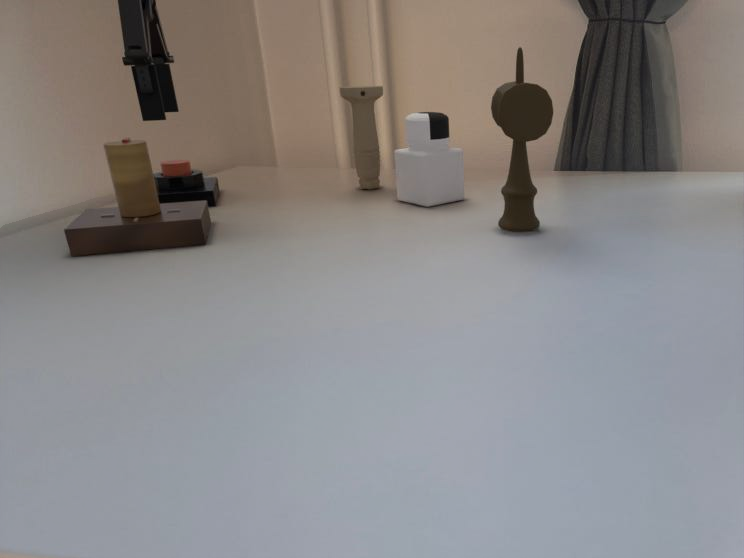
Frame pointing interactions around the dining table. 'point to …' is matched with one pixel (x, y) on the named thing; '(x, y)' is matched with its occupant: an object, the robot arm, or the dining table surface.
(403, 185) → the medicine bottle
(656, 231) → the dining table surface
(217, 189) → the release housing
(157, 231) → the plate
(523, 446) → the dining table surface
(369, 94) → the handle
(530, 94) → the kendama
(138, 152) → the yellow cylinder
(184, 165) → the release button
